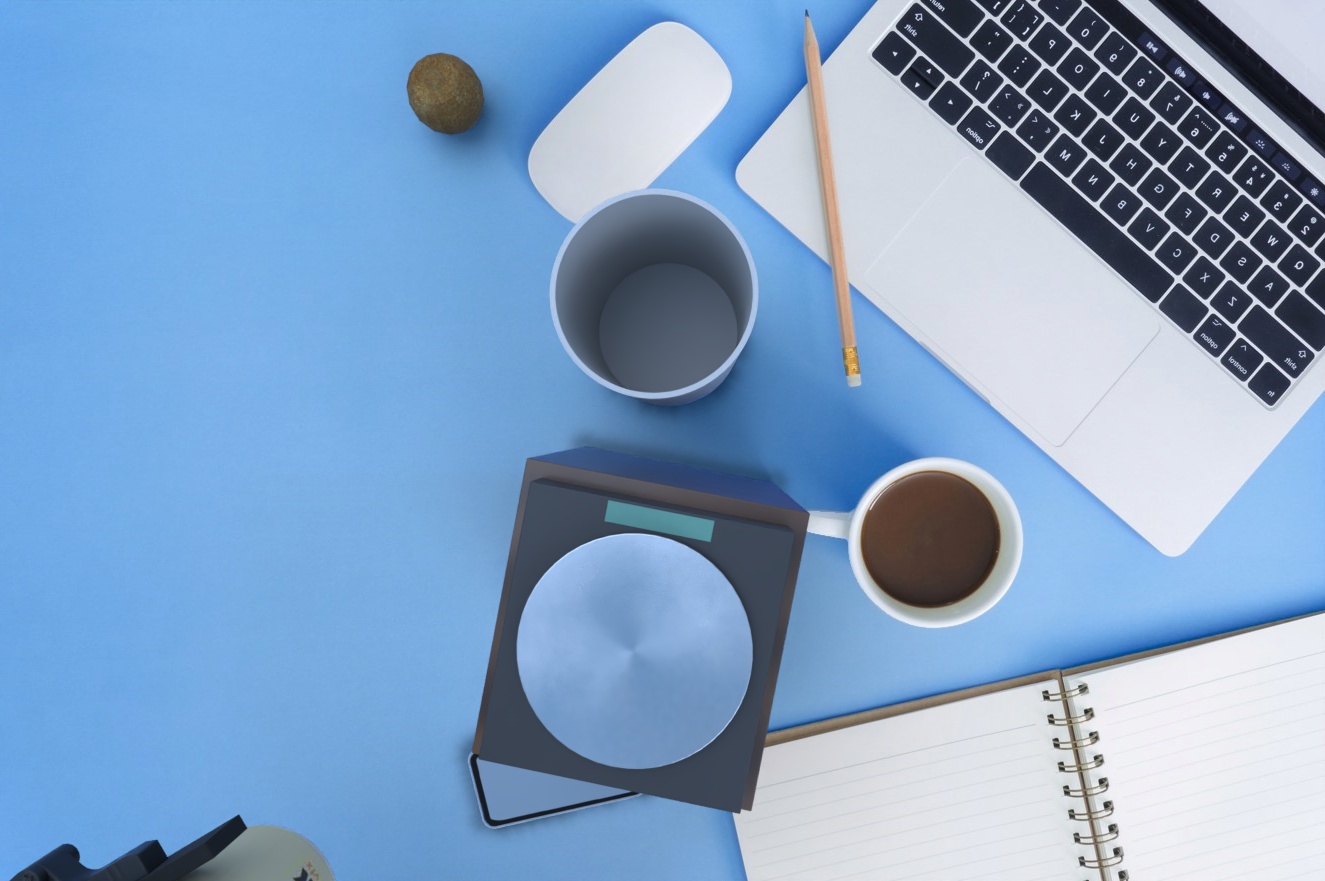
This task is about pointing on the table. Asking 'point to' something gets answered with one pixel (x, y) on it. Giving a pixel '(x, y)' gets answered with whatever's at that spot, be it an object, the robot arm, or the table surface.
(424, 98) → the fruit
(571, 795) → the smartphone
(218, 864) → the coffee cup
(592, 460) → the dark grey tall block
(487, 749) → the scale
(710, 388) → the cylinder vase
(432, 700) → the table surface
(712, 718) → the scale pan
